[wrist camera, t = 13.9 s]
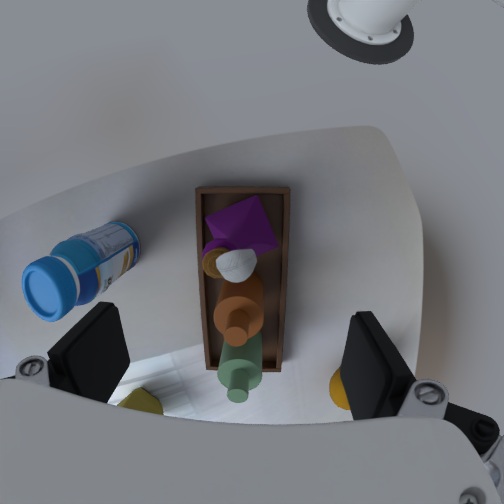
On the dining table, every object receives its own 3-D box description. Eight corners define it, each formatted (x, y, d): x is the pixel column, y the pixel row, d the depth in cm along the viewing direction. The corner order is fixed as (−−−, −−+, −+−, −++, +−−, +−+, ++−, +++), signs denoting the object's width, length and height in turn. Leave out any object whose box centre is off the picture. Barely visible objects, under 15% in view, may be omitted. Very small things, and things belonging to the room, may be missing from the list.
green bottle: (224, 321, 45) (211, 377, 31) (262, 322, 44) (262, 379, 31) (226, 351, 46) (215, 410, 33) (261, 352, 46) (261, 412, 33)
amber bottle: (222, 267, 42) (206, 311, 29) (263, 268, 42) (264, 312, 29) (223, 304, 44) (209, 357, 30) (262, 305, 44) (263, 359, 30)
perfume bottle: (230, 260, 42) (209, 321, 24) (208, 213, 40) (170, 245, 23) (277, 241, 41) (290, 292, 23) (257, 192, 39) (255, 208, 22)
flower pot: (172, 402, 51) (161, 433, 42) (151, 416, 53) (140, 445, 44) (138, 377, 49) (122, 406, 41) (120, 393, 51) (104, 421, 43)
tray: (199, 186, 40) (195, 187, 37) (288, 187, 39) (290, 187, 37) (208, 361, 47) (206, 369, 45) (280, 363, 47) (280, 372, 45)
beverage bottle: (133, 213, 41) (50, 246, 22) (148, 265, 43) (81, 327, 24) (92, 227, 42) (7, 263, 22) (107, 275, 44) (34, 332, 24)
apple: (356, 389, 49) (368, 420, 40) (316, 384, 48) (324, 418, 40) (377, 353, 46) (394, 384, 38) (335, 346, 46) (348, 379, 37)
